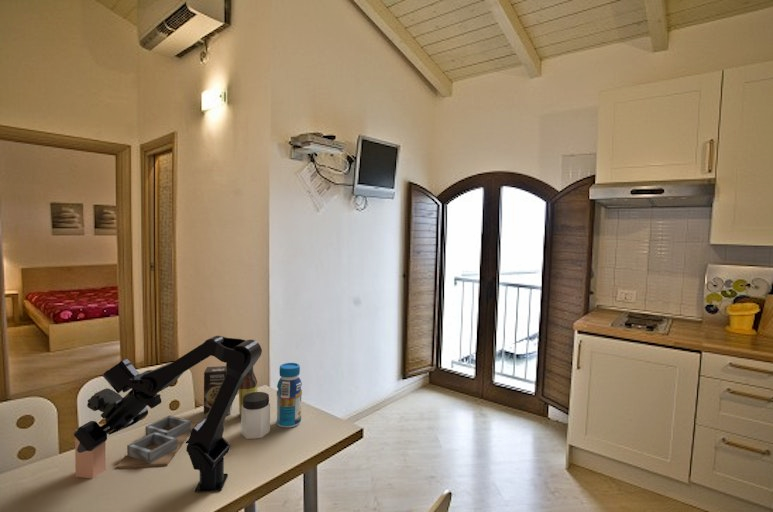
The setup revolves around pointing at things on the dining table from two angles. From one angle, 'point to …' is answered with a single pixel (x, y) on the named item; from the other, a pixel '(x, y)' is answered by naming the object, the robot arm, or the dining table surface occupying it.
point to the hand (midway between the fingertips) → (94, 441)
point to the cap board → (158, 443)
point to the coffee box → (213, 386)
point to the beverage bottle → (289, 396)
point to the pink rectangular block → (90, 461)
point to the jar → (255, 415)
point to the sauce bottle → (247, 386)
